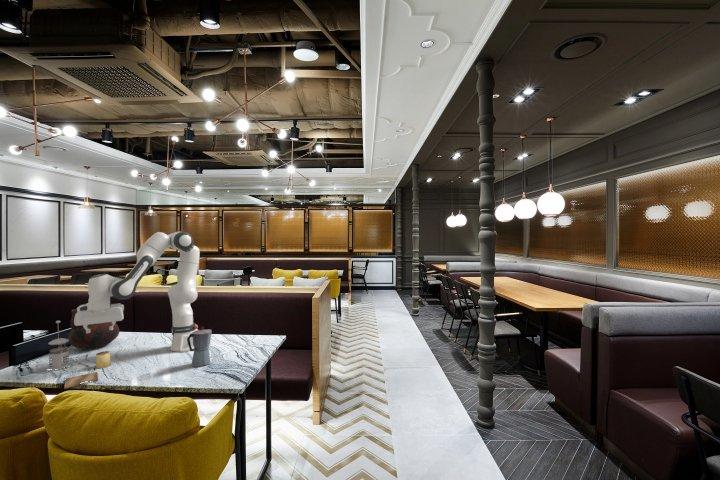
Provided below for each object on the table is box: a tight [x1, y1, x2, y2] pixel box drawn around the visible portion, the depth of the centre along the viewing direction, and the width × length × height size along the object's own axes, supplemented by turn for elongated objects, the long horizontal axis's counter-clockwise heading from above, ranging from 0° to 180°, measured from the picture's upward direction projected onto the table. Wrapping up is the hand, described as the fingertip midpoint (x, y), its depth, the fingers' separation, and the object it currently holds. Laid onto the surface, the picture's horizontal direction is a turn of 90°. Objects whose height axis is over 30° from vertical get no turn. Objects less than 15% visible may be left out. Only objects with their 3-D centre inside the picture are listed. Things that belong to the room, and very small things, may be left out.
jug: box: [67, 308, 120, 350], centre depth 204 cm, size 25×25×25 cm
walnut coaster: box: [63, 371, 99, 389], centre depth 157 cm, size 12×12×1 cm
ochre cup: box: [95, 350, 111, 370], centre depth 173 cm, size 6×6×7 cm
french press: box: [47, 320, 72, 370], centre depth 173 cm, size 10×12×25 cm
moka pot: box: [187, 326, 213, 367], centre depth 174 cm, size 10×15×20 cm, turn 161°
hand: (100, 331), depth 171 cm, fingers open, 8 cm apart
